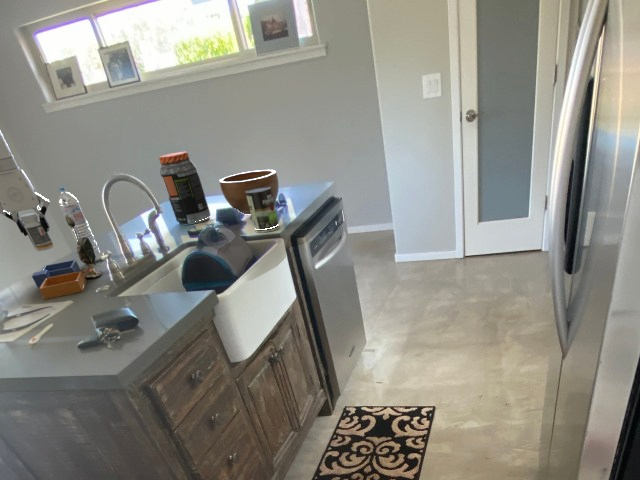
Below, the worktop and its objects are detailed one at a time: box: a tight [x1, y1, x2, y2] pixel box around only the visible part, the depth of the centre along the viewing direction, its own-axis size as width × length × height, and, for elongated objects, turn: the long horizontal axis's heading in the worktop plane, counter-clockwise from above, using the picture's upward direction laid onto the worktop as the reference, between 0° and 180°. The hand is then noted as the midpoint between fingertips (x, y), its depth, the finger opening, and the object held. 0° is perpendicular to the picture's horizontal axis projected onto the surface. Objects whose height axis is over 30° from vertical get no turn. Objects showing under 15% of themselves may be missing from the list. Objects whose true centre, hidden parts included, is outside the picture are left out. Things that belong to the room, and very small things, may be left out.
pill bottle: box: [19, 212, 55, 252], centre depth 165 cm, size 6×6×10 cm
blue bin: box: [40, 259, 81, 277], centre depth 190 cm, size 11×11×4 cm
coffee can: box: [245, 187, 280, 234], centre depth 206 cm, size 10×10×14 cm
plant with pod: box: [64, 215, 103, 278], centre depth 181 cm, size 8×11×20 cm
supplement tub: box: [158, 151, 211, 226], centre depth 230 cm, size 16×16×26 cm
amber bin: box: [38, 270, 87, 300], centre depth 176 cm, size 12×12×4 cm
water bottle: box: [57, 186, 102, 263], centre depth 196 cm, size 7×7×25 cm
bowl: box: [219, 169, 280, 215], centre depth 228 cm, size 25×25×15 cm
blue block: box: [31, 270, 51, 290], centre depth 182 cm, size 5×5×5 cm
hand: (37, 232), depth 166 cm, fingers closed on pill bottle, 5 cm apart
